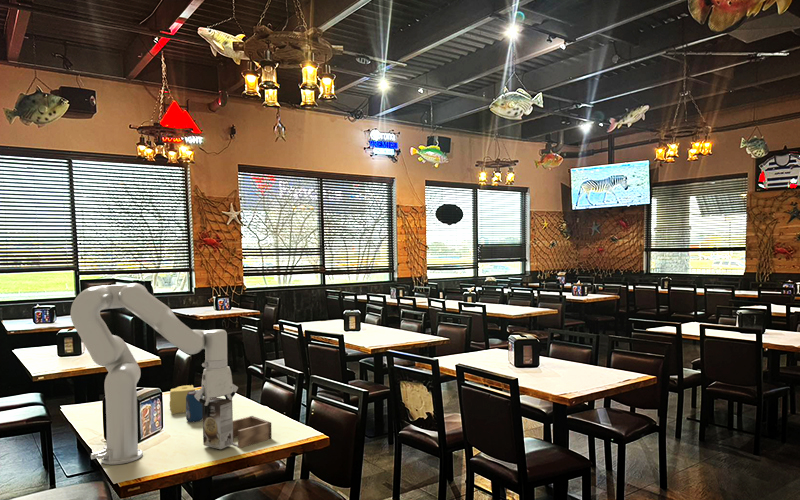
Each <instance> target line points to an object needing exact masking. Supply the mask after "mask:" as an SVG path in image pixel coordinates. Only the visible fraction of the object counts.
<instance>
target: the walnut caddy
mask: <svg viewBox="0 0 800 500" xmlns="http://www.w3.org/2000/svg"><path fill="white" fill-rule="evenodd" d="M236 437H237V443H236V442H233V444H232V445H231V446H235V447H236V446H237V448H239V449H241V448H245V447H248V446H251V444H252V445H254V444H258V443H261V442H265V441H268V439H269V440H272V439H273V438H272V422H271V421H268V420H265V419H264V418H263V419H262V418H259V417H256V416H254V415H249V416H245V417H243V418H239V419H238V418H237V419H235V420H234V419H233V439H234V438H236ZM244 446H245V447H244Z"/></svg>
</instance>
